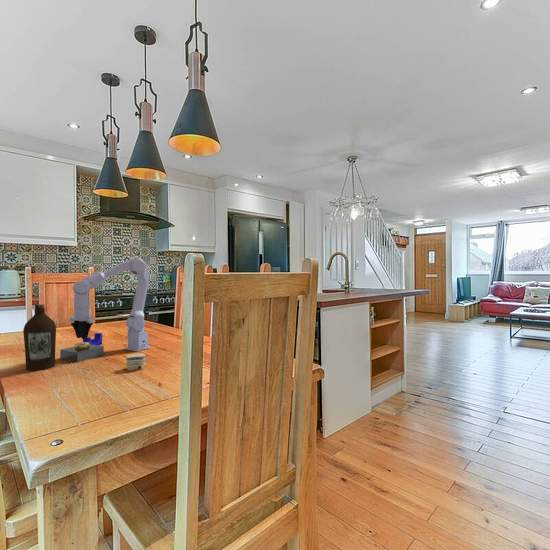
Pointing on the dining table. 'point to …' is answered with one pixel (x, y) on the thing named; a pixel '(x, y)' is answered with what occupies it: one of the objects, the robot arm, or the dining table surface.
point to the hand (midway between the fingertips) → (82, 338)
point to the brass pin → (82, 345)
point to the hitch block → (81, 353)
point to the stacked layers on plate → (135, 361)
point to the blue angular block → (96, 340)
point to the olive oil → (39, 340)
